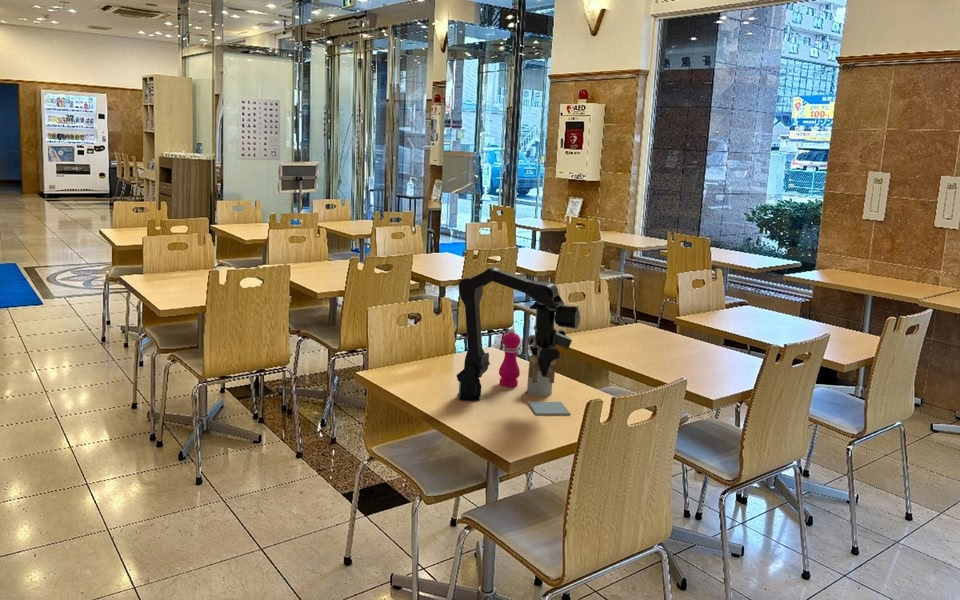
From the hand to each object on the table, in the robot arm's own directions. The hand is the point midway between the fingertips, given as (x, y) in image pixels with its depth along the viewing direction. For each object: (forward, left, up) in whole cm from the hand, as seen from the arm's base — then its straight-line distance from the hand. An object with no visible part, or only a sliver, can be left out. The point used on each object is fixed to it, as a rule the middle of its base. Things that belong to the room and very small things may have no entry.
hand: (541, 373), depth 240 cm
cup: (+5, +19, -13) cm, 23 cm away
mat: (+4, +2, -12) cm, 13 cm away
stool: (0, 0, -2) cm, 2 cm away
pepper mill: (-4, +27, -13) cm, 30 cm away
